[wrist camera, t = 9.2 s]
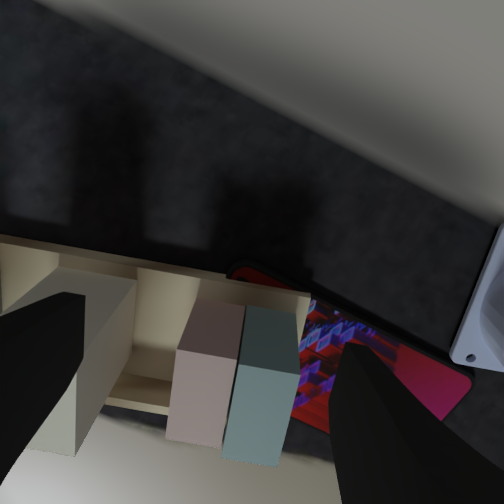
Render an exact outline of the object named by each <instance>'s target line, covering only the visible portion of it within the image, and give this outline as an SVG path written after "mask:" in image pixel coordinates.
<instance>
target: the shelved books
mask: <svg viewBox="0 0 504 504" xmlns="http://www.w3.org/2000/svg"><path fill="white" fill-rule="evenodd" d="M244 310H245V306H241V305H235V304H229V303H224V302H218V301H213V300H207V299H201V298H196V300H195V303H194V305H193V308H192V310H191V313H190V316H189V318H188V321H187V323H186V326H185V329H184V331H183V334H182V336H181V339H180V341H179V344H178V347H177V349H176V357H175V365H174V373H173V382H172V390H171V398H170V406H169V414H168V422H167V430H166V438H165V439H169V440H175V441H181V442H186V443H192V444H198V445H203V446H209V447H215V448H221V443H222V437H223V432H224V427H225V421H226V416H227V411H228V417H227V423H226V430H225V436H224V443H223V449H222V457H221V458H226V459H232V460H238V461H243V462H249V463H254V464H260V465H266V466H272V467H277V466H278V462H279V458H280V454H281V450H282V446H283V442H284V439H285V435H286V431H287V427H288V423H289V419H290V415H291V411H292V407H293V403H294V399H295V395H296V392H297V388H298V384H299V380H300V376H301V373H300V360H299V346H298V333H297V320H296V314H295V313H290V312H284V311H279V310H273V309H267V308H262V307H256V306H251V305H247V310H246V315H245V320H244V326H243V331H242V336H241V330H242V323H243V317H244ZM240 337H241V342H240ZM239 343H240V347H239ZM238 350H239V352H238ZM237 356H238V358H237ZM236 362H237V363H236ZM234 373H235V374H234ZM233 378H234V379H233ZM231 389H232V391H231ZM230 395H231V397H230ZM229 400H230V404H229ZM228 405H229V410H228Z"/></svg>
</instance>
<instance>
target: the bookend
mask: <svg viewBox="0 0 504 504" xmlns="http://www.w3.org/2000/svg"><path fill="white" fill-rule="evenodd" d="M1 313H2V291H1V270H0V314H1Z"/></svg>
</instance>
